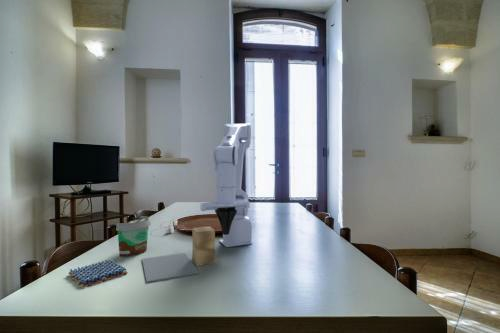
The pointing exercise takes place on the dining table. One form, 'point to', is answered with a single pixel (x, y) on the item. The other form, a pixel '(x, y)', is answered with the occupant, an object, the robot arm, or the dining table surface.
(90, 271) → the woven mat
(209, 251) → the wood block
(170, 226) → the sunglasses
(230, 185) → the robot arm
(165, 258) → the grey rubber mat
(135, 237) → the food container
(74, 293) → the dining table surface
